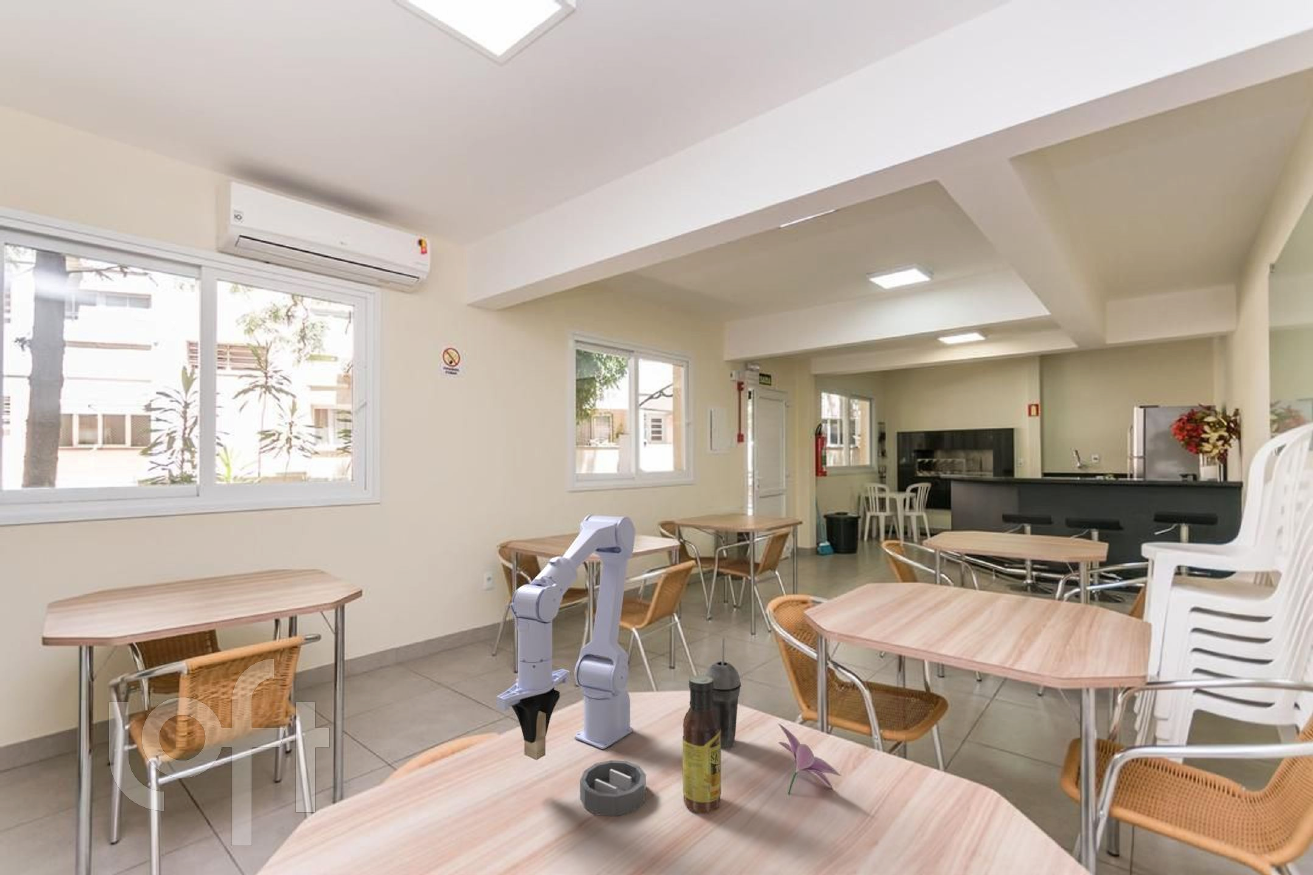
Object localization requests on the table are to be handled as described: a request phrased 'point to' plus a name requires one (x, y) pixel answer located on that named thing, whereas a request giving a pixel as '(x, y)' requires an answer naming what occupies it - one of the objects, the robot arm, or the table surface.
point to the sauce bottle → (701, 748)
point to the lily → (806, 758)
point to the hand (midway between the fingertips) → (535, 737)
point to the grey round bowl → (613, 788)
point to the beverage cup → (725, 698)
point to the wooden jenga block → (537, 739)
